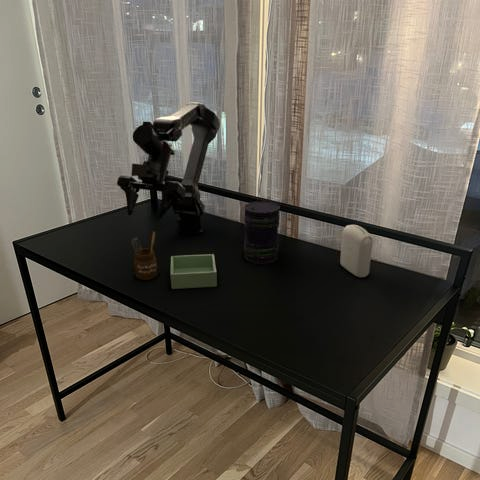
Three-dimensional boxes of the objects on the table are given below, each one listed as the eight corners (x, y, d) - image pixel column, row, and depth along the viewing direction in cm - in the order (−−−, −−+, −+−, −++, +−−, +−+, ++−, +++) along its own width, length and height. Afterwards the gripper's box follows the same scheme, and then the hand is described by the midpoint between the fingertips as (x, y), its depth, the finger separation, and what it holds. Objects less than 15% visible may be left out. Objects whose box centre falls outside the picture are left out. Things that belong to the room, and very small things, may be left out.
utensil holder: (133, 273, 140) (128, 231, 134) (155, 269, 142) (151, 228, 136) (138, 282, 135) (133, 239, 129) (161, 278, 137) (157, 235, 131)
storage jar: (269, 247, 154) (270, 199, 147) (284, 260, 147) (286, 209, 139) (238, 253, 151) (238, 204, 143) (252, 266, 143) (252, 214, 136)
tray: (172, 269, 142) (170, 256, 140) (214, 267, 143) (213, 254, 141) (171, 288, 132) (170, 274, 130) (217, 286, 133) (216, 272, 131)
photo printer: (337, 264, 144) (341, 222, 138) (350, 261, 145) (355, 220, 139) (356, 279, 136) (362, 235, 129) (370, 276, 137) (376, 232, 131)
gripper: (113, 146, 136) (98, 201, 135) (175, 151, 130) (160, 209, 128) (134, 165, 147) (120, 216, 145) (192, 170, 140) (178, 224, 139)
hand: (143, 216), depth 139 cm, fingers open, 9 cm apart
